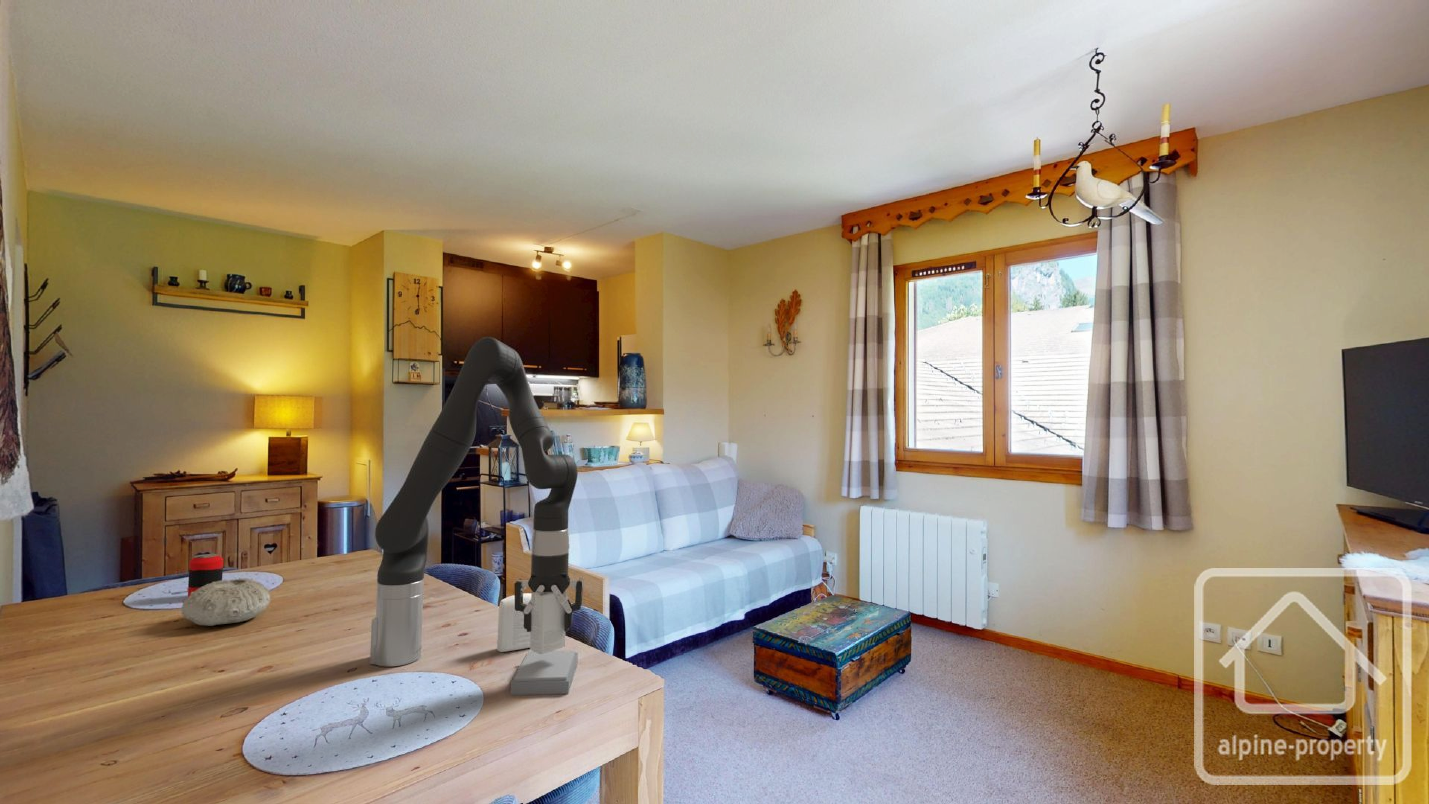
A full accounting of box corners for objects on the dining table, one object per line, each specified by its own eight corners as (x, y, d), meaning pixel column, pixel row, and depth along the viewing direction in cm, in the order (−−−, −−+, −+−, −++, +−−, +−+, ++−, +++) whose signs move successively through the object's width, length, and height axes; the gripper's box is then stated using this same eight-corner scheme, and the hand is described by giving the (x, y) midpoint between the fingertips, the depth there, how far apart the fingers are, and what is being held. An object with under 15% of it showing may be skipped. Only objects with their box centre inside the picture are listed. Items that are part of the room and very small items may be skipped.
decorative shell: (267, 625, 155) (269, 585, 155) (175, 638, 145) (177, 595, 145) (270, 607, 169) (272, 570, 170) (186, 617, 159) (188, 578, 160)
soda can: (180, 600, 174) (182, 557, 174) (206, 593, 181) (208, 552, 182) (202, 602, 173) (204, 559, 173) (228, 594, 180) (230, 553, 180)
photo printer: (538, 640, 148) (540, 589, 148) (544, 646, 144) (546, 593, 145) (494, 648, 142) (496, 595, 143) (499, 654, 139) (501, 599, 139)
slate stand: (510, 695, 118) (511, 679, 118) (526, 664, 133) (526, 650, 133) (568, 693, 119) (568, 678, 120) (577, 663, 134) (577, 649, 134)
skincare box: (553, 642, 131) (554, 585, 131) (566, 647, 128) (567, 589, 128) (528, 650, 126) (529, 591, 126) (541, 656, 123) (542, 595, 123)
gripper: (510, 554, 123) (508, 637, 122) (583, 554, 125) (581, 636, 124) (518, 547, 130) (516, 625, 130) (586, 546, 132) (585, 624, 131)
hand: (548, 630), depth 127 cm, fingers closed on skincare box, 7 cm apart
